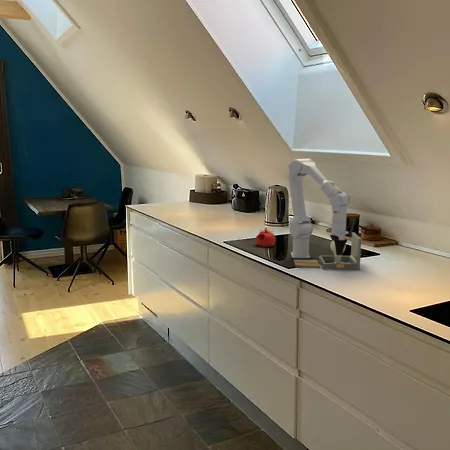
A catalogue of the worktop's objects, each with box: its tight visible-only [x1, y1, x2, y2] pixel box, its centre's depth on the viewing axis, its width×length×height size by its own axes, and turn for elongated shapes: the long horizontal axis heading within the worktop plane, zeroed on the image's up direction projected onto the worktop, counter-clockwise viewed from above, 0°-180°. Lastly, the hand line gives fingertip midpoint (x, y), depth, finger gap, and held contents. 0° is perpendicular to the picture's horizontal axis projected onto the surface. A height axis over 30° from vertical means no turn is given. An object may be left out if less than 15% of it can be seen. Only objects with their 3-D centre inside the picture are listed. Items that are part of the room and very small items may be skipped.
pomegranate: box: [255, 227, 276, 248], centre depth 268 cm, size 10×10×9 cm
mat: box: [293, 259, 321, 269], centre depth 232 cm, size 10×10×1 cm
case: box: [318, 232, 362, 271], centre depth 229 cm, size 14×15×13 cm
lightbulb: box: [330, 240, 347, 263], centre depth 230 cm, size 6×6×11 cm
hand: (337, 253), depth 230 cm, fingers closed on lightbulb, 6 cm apart
